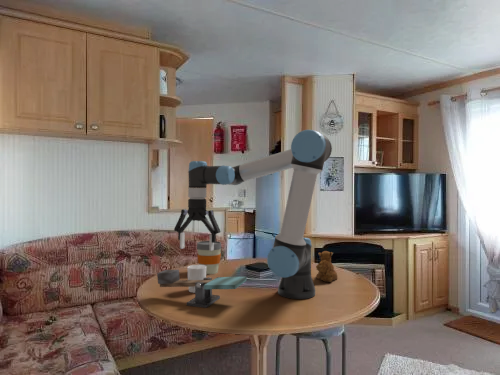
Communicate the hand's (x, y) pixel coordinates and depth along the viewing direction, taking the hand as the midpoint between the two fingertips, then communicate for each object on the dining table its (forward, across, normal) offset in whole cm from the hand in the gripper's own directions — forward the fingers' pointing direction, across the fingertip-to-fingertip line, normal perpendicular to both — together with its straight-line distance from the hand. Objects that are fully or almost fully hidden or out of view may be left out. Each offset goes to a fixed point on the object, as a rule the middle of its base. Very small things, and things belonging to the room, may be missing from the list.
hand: (196, 249), depth 149 cm
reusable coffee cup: (+18, +9, -31) cm, 37 cm away
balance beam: (+11, -8, +12) cm, 18 cm away
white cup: (+17, 0, 0) cm, 17 cm away
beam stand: (+17, -9, +12) cm, 23 cm away
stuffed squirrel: (+17, -49, -36) cm, 64 cm away
